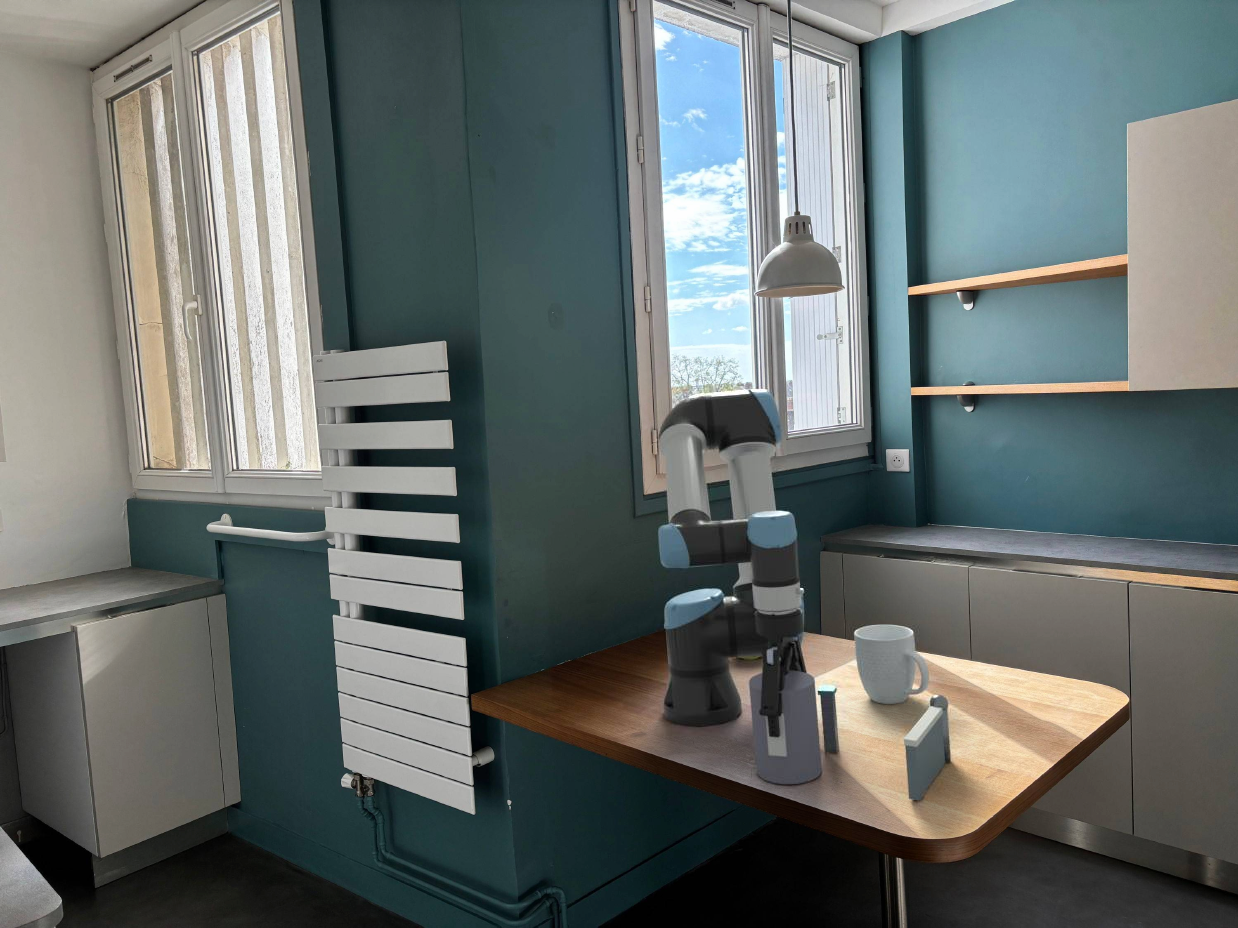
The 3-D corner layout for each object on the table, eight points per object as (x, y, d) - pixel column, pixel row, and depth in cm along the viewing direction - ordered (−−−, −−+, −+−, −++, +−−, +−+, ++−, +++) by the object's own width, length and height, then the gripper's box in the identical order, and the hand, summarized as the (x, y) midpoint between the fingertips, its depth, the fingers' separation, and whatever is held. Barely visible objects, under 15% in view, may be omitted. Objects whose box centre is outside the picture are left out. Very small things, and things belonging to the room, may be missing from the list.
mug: (948, 702, 162) (943, 633, 161) (910, 718, 156) (905, 647, 155) (884, 684, 174) (879, 621, 173) (846, 699, 168) (841, 633, 167)
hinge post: (932, 763, 137) (928, 697, 136) (934, 756, 139) (929, 691, 139) (951, 764, 136) (947, 698, 135) (952, 757, 138) (948, 692, 137)
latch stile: (822, 753, 144) (817, 690, 144) (825, 747, 147) (820, 685, 146) (838, 754, 143) (833, 691, 142) (841, 748, 146) (836, 685, 145)
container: (750, 783, 136) (742, 690, 135) (763, 756, 145) (756, 669, 144) (817, 788, 132) (809, 692, 131) (825, 760, 142) (818, 670, 141)
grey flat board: (934, 760, 137) (930, 706, 136) (946, 762, 136) (942, 707, 135) (908, 798, 125) (903, 738, 125) (920, 800, 124) (916, 740, 124)
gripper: (781, 630, 125) (793, 772, 127) (818, 590, 148) (827, 711, 149) (732, 629, 128) (743, 767, 130) (775, 590, 151) (784, 708, 152)
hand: (788, 737), depth 139 cm, fingers open, 13 cm apart
